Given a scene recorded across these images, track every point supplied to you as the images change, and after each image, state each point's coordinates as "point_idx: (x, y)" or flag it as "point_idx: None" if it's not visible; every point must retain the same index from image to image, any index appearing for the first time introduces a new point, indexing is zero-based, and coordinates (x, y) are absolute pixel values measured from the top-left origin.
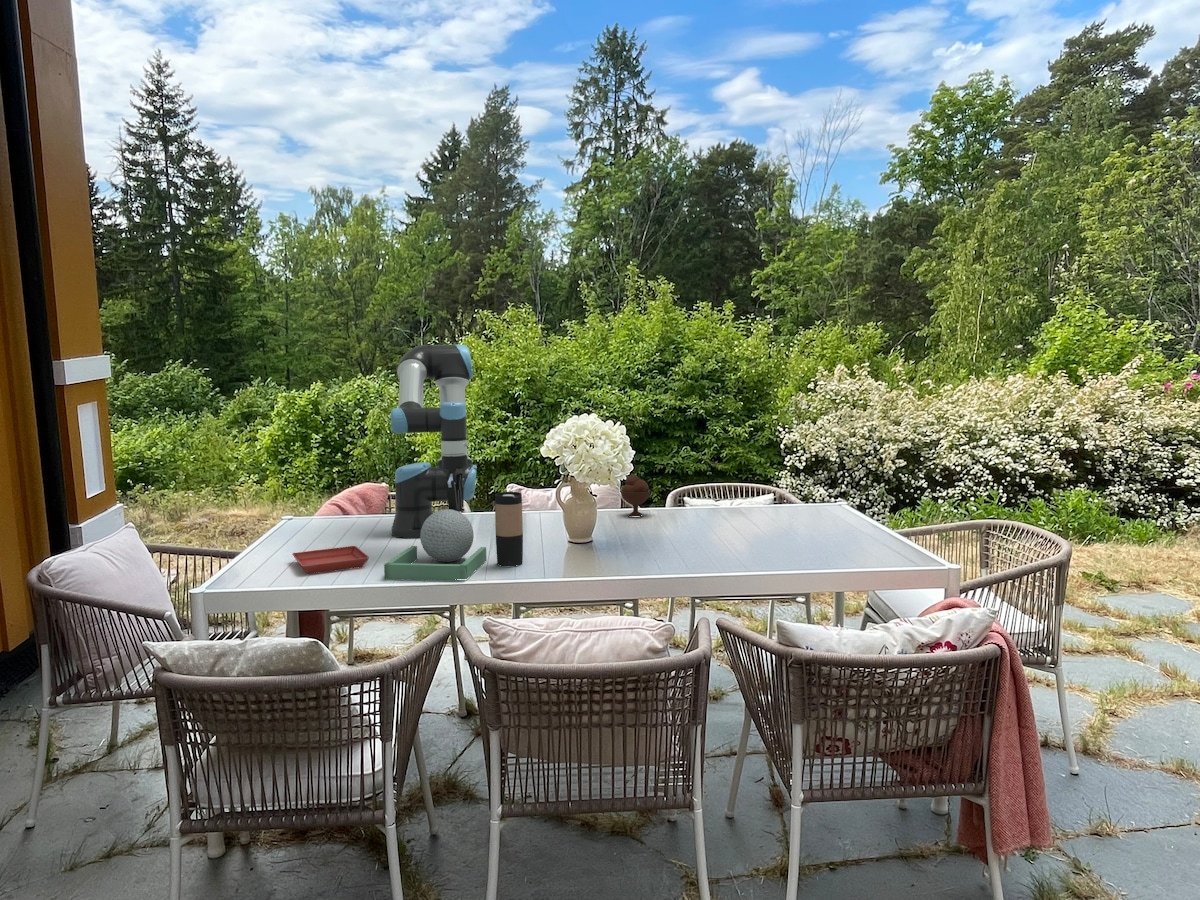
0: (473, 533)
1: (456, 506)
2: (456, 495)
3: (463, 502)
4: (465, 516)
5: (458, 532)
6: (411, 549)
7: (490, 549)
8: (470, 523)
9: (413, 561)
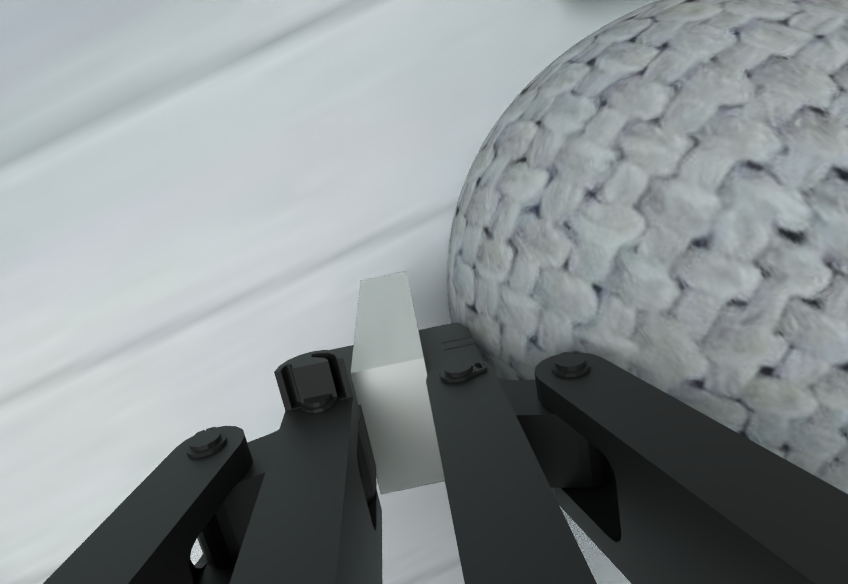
0: (643, 7)
1: (647, 385)
2: (765, 541)
3: (146, 487)
4: (785, 90)
5: None
6: None
7: (176, 79)
8: (738, 9)
9: None
